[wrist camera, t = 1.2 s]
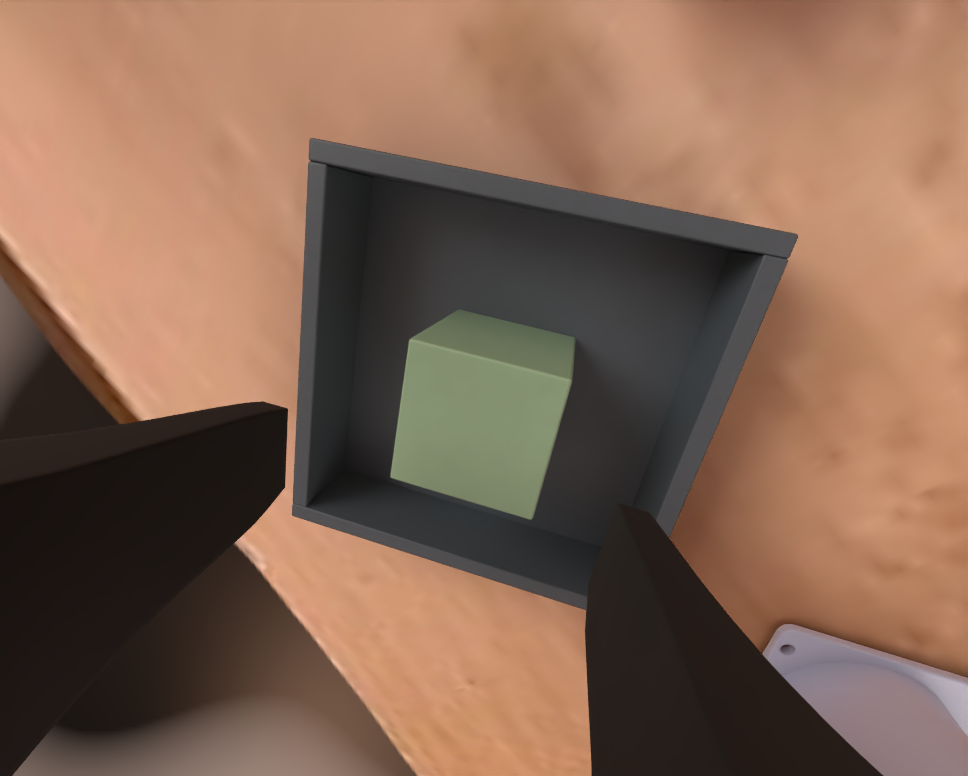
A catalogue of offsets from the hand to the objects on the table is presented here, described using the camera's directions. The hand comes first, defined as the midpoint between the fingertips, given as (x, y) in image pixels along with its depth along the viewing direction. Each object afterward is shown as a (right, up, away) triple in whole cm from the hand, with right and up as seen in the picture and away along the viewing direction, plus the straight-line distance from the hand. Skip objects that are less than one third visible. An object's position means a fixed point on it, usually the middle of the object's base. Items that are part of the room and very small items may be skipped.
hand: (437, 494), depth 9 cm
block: (+2, +3, +8) cm, 8 cm away
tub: (+2, +3, +8) cm, 8 cm away
